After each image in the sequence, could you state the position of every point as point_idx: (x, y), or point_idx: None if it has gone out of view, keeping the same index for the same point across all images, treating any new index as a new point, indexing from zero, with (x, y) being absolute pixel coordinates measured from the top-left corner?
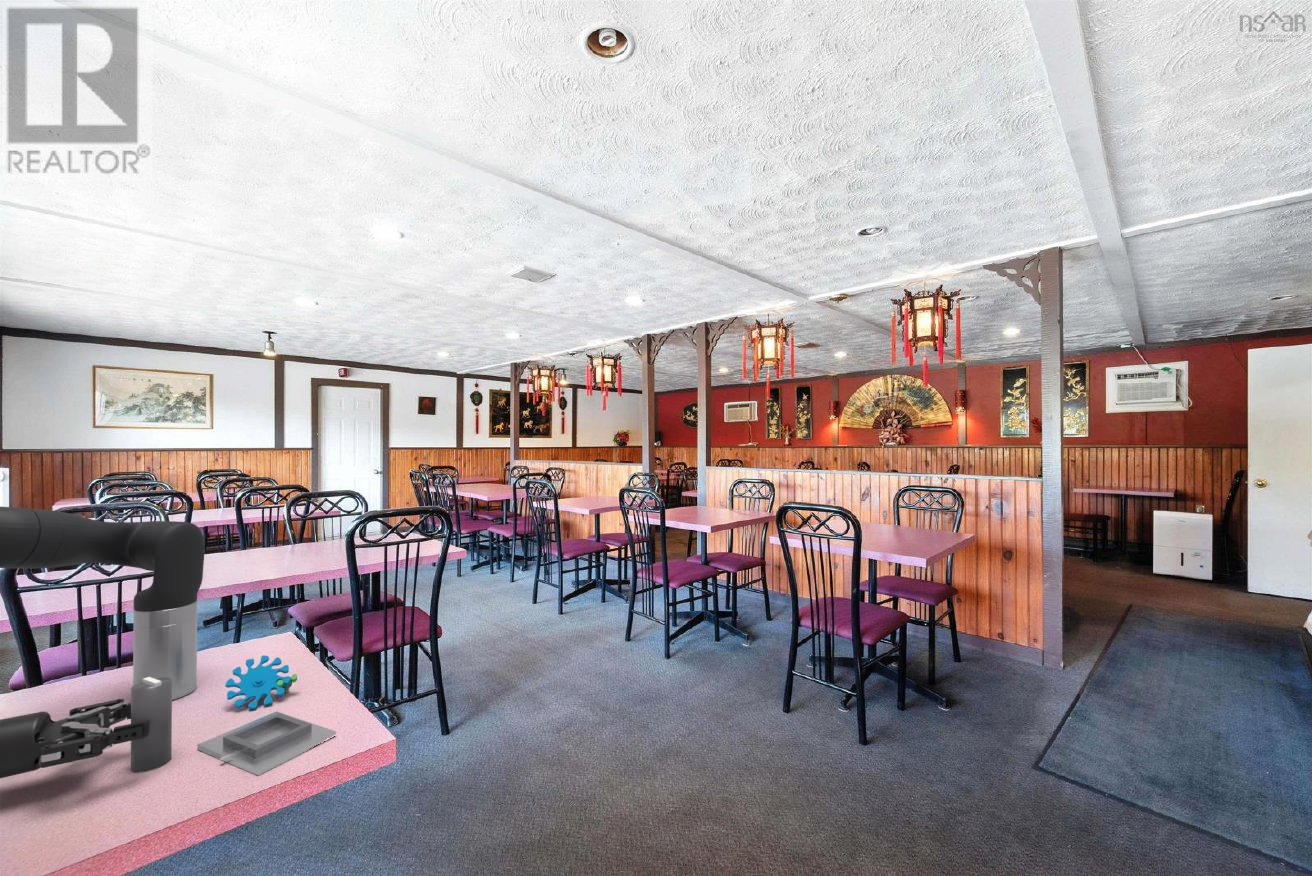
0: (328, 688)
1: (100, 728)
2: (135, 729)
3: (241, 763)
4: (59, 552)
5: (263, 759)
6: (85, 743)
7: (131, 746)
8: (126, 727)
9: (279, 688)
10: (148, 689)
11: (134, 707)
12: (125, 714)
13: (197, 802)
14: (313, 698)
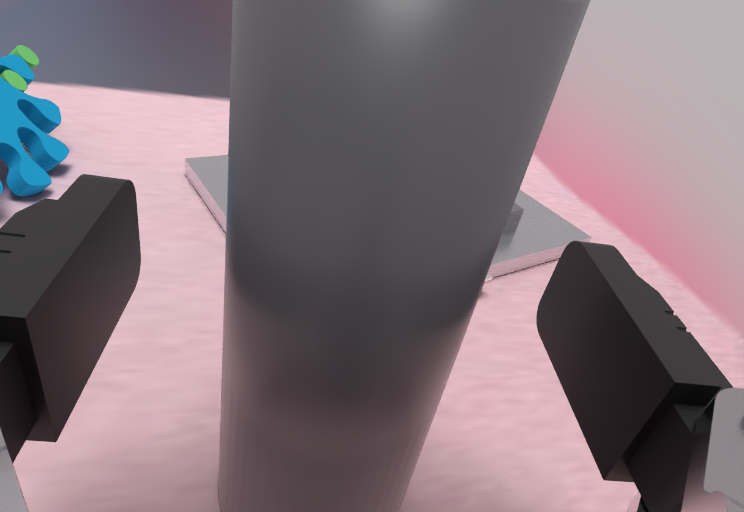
0: (88, 93)
1: (719, 485)
2: (659, 302)
3: (535, 253)
4: None
5: (531, 223)
6: None
7: (379, 476)
8: (668, 324)
9: (37, 101)
10: None
11: (498, 200)
12: (29, 412)
13: (706, 351)
14: (132, 118)
